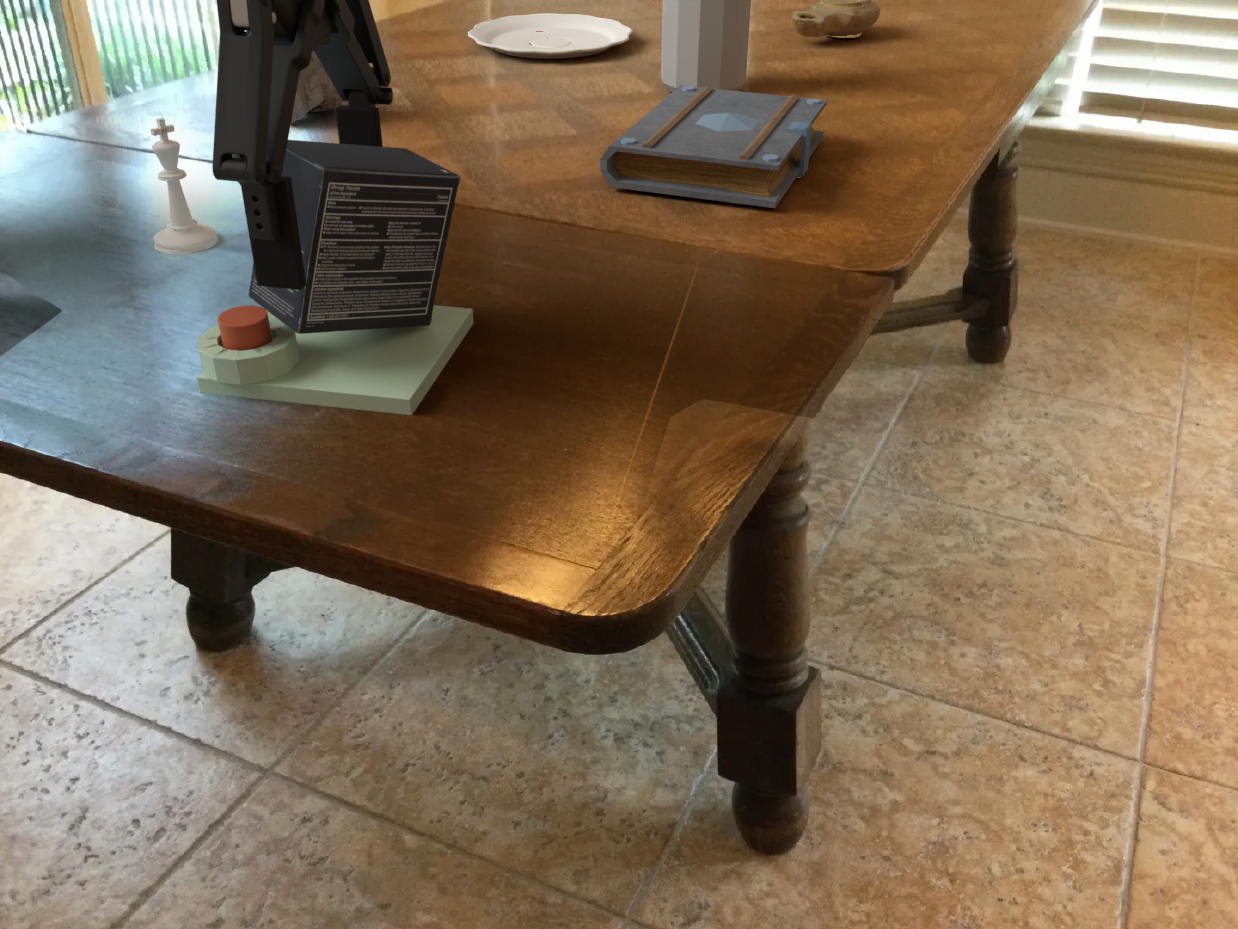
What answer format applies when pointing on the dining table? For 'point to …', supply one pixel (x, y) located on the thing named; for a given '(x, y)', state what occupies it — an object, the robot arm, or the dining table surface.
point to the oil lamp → (836, 18)
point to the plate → (550, 35)
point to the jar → (705, 43)
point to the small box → (363, 237)
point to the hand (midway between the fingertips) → (327, 241)
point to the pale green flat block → (337, 364)
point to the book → (717, 146)
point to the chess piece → (177, 202)
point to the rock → (314, 90)
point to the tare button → (244, 328)
